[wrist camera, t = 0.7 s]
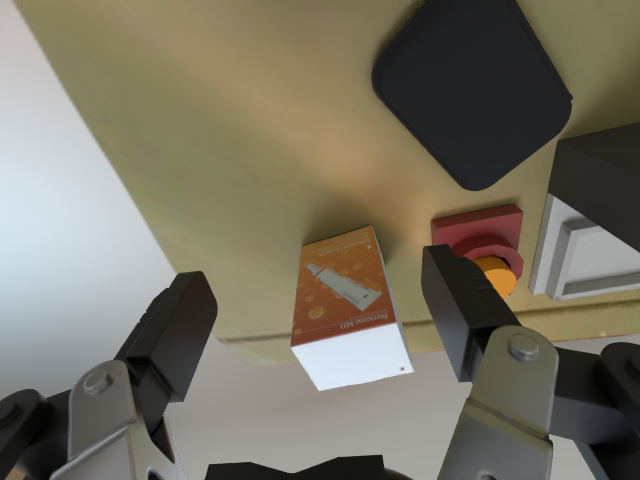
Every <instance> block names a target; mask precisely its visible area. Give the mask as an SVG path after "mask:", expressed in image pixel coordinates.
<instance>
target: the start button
mask: <svg viewBox="0 0 640 480" xmlns="http://www.w3.org/2000/svg"><path fill="white" fill-rule="evenodd" d="M473 262H474V263H476V264H477V265H479V267H480V268H481V269H482V271H483V272H484V273H485V275H486V276H487V279H489V280H490V282H491V283H492V285H493V287H494V288H495V289H496V290H497V292H498V293H499V294H500V296H501V297H502V298H504V297H506V296H507V295H508V294H509V293H510V292H511V291H512V290H513V289H514V287H515V285H516V277H515V275H514V273H513V272H512V271H511V270H510V269H509V267H508V266H507V265H506V264H505V263H504V261H503V260H502V259H500V258H498V257H495V256H484V257H479V258H477V259H475V260H473Z"/></svg>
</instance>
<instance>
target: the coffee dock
mask: <svg viewBox="0 0 640 480" xmlns="http://www.w3.org/2000/svg"><path fill="white" fill-rule="evenodd" d="M636 288H640V123H636V124H632V125H627V126H623V127H618V128H614V129H609V130H605V131H600V132H596V133H591V134H587V135H582V136H578V137H573V138H569V139H564V140H560V141H558V143H557V148H556V153H555V158H554V163H553V168H552V173H551V178H550V184H549V189H548V194H547V199H546V204H545V209H544V214H543V219H542V224H541V229H540V234H539V239H538V244H537V249H536V254H535V260H534V265H533V270H532V275H531V280H530V285H529V290H530V292H531V293H532V294H533V295H537V294H543V293H546V294H547V295H548V296H549V297H550V298H551V299H552V301H559V300H565V299H571V298H578V297H584V296H591V295H597V294H604V293H610V292H616V291H623V290H629V289H636Z"/></svg>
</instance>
